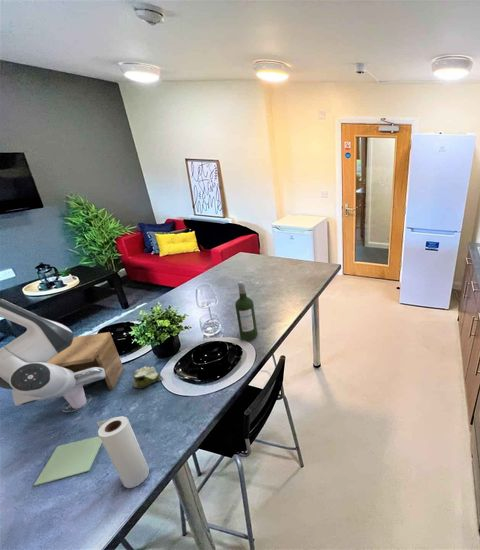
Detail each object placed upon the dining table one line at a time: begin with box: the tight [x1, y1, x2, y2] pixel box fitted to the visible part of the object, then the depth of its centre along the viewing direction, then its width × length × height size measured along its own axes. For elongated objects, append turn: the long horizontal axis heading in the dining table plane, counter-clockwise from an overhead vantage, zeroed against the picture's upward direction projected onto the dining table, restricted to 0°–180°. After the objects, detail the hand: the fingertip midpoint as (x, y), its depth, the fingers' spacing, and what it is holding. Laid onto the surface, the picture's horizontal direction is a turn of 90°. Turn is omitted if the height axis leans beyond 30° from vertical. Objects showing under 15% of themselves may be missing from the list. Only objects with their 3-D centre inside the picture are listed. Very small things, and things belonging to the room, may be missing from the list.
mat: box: [33, 435, 103, 487], centre depth 86 cm, size 12×12×1 cm
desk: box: [45, 331, 125, 391], centre depth 107 cm, size 14×16×18 cm
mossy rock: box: [132, 366, 164, 389], centre depth 113 cm, size 9×9×8 cm
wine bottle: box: [234, 280, 258, 341], centre depth 138 cm, size 8×8×30 cm
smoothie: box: [62, 385, 87, 409], centre depth 99 cm, size 6×6×14 cm
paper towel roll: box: [96, 415, 150, 489], centre depth 78 cm, size 7×6×21 cm
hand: (71, 386), depth 99 cm, fingers closed on smoothie, 6 cm apart
